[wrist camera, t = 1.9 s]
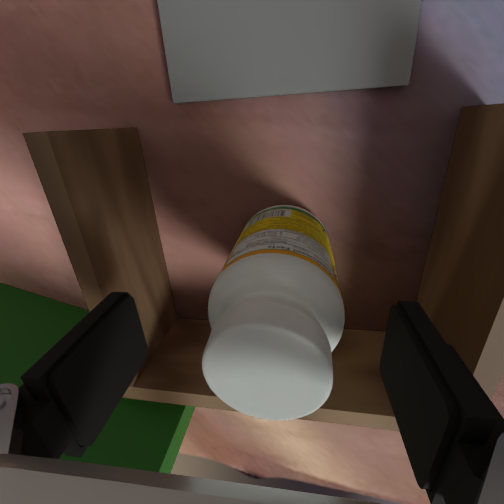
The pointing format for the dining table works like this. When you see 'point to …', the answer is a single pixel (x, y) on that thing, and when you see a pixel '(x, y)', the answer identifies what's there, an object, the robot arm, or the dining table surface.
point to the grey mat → (286, 46)
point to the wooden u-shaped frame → (198, 331)
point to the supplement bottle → (275, 317)
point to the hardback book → (127, 411)
